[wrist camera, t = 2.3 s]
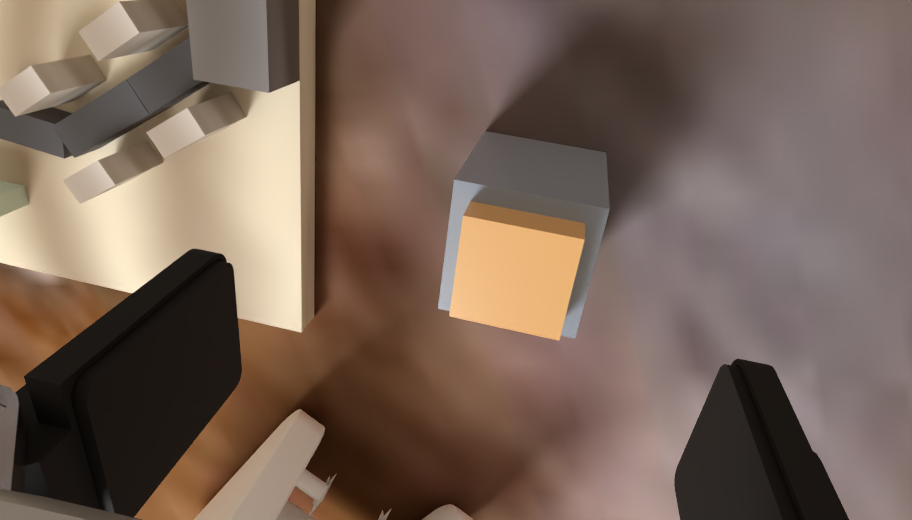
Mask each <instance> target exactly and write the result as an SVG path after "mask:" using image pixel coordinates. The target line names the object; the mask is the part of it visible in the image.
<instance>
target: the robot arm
mask: <svg viewBox="0 0 912 520" xmlns="http://www.w3.org/2000/svg"><path fill="white" fill-rule="evenodd" d="M241 373H242V366H241V353H240V341H239V328H238V316H237V303H236V291H235V278H234V269H233V266H232V264H231V263H228V262H227V260H226V258H225V256H224V255H223V254H220V253H216V252H211V251H206V250H201V249H191V250H189V251H187V252H186V253H185V254H183V255H182V256H181V257H179V258H178V259H177V260H176V261H174V262H173V263H172V264H170V265H169V266H168V267H166V268H165V269H164V270H162V271H161V272H160V273H159V274H157V275H156V276H155V277H153V278H152V279H151V280H149V281H148V282H147V283H145V284H144V285H143V286H142V287H140V288H139V289H138V290H136V291H135V292H134V293H132V294H131V295H130V296H128V297H127V298H126V299H125V300H123V301H122V302H121V303H119V304H118V305H117V306H115V307H114V308H113V309H112V310H110V311H109V312H108V313H106V314H105V315H104V316H102V317H101V318H100V319H98V320H97V321H96V322H95V323H93V324H92V325H91V326H89V327H88V328H87V329H85V330H84V331H83V332H81V333H80V334H79V335H78V336H76V337H75V338H74V339H72V340H71V341H70V342H68V343H67V344H66V345H64V346H63V347H62V348H61V349H59V350H58V351H57V352H55V353H54V354H53V355H51V356H50V357H49V358H47V359H46V360H45V361H44V362H42V363H41V364H40V365H38V366H37V367H36V368H34V369H33V370H32V371H30V372H29V373H28V374H27V375H25V376H24V378H25V381H26V385H25V386H23V387H22V388H21V389H19V390H18V391H17V392H16V393H15V392H14V391H13V390H12V389H10V388H8V387H5V386H2V385H0V520H141V519H137V518H134V516H135V515H136V514H137V513H138V511H139V510H140V509H141V507H142V506H143V505H144V504H145V502H146V501H147V500H148V499H149V497H150V496H151V495H152V494H153V492H154V491H155V490H156V488H157V487H158V486H159V485H160V483H161V482H162V481H163V480H164V478H165V477H166V476H167V474H168V473H169V472H170V471H171V469H172V468H173V467H174V466H175V464H176V463H177V462H178V461H179V459H180V458H181V457H182V455H183V454H184V453H185V452H186V450H187V449H188V448H189V447H190V445H191V444H192V443H193V441H194V440H195V439H196V438H197V436H198V435H199V434H200V433H201V431H202V430H203V429H204V428H205V426H206V425H207V424H208V422H209V421H210V420H211V419H212V417H213V416H214V415H215V414H216V412H217V411H218V410H219V409H220V407H221V406H222V405H223V403H224V402H225V401H226V400H227V398H228V397H229V396H230V395H231V393H232V392H233V391H234V389H235V388H236V387H237V385H238V383H239V381H240V377H241ZM675 492H676V498H677V503H678V509H679V515H680V520H849V519H848V517H847V514H846V512H845V510H844V508H843V506H842V504H841V502H840V500H839V498H838V495H837V493H836V491H835V489H834V487H833V485H832V483H831V481H830V479H829V476H828V474H827V472H826V470H825V468H824V466H823V464H822V462H821V460H820V458H819V457H818V455H817V454H816V453H815V452H813V451H812V449H811V447H810V444H809V442H808V440H807V438H806V436H805V434H804V431H803V429H802V427H801V425H800V423H799V421H798V419H797V416H796V414H795V412H794V410H793V408H792V406H791V404H790V401H789V399H788V397H787V395H786V393H785V391H784V389H783V386H782V384H781V382H780V380H779V378H778V376H777V373H776V371H775V370H774V368H773V367H772V366H770V365H766V364H761V363H757V362H752V361H747V360H742V359H736V360H735V361H734V362H733V363H732V364H731V365H726V364H724V365H722V366H721V368H720V369H719V371H718V374H717V376H716V378H715V381H714V383H713V385H712V388H711V390H710V392H709V394H708V397H707V399H706V401H705V404H704V406H703V408H702V411H701V413H700V415H699V418H698V420H697V422H696V425H695V427H694V429H693V431H692V434H691V436H690V438H689V441H688V443H687V445H686V448H685V450H684V452H683V455H682V457H681V459H680V461H679V464H678V466H677V469H676V473H675Z"/></svg>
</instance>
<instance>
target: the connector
mask: <svg viewBox="0 0 912 520" xmlns="http://www.w3.org/2000/svg"><path fill="white" fill-rule="evenodd" d="M609 210H610V204H609V188H608V173H607V157H606V152H601V151H596V150H590V149H584V148H579V147H573V146H567V145H562V144H556V143H551V142H545V141H539V140H534V139H528V138H522V137H517V136H511V135H506V134H500V133H494V132H489V131H485V132H484V134H483V136H482V137H481V139H480V140H479V142H478V143H477V145H476V146H475V148H474V149H473V151H472V153H471V154H470V156H469V157H468V159H467V160H466V162H465V163H464V165H463V167H462V168H461V170H460V171H459V173H458V174H457V176H456V177H455V179H454V185H453V193H452V201H451V209H450V217H449V225H448V233H447V241H446V249H445V257H444V264H443V272H442V280H441V288H440V296H439V304H438V309H442V310H447V311H450V314H449V316H450V317H455V318H459V319H464V320H468V321H473V322H477V323H482V324H486V325H491V326H495V327H500V328H504V329H509V330H514V331H518V332H523V333H527V334H532V335H536V336H541V337H545V338H550V339H554V340H560V336H565V337H570V338H574V339H575V337H576V334H577V330H578V326H579V323H580V319H581V315H582V311H583V308H584V304H585V300H586V296H587V293H588V289H589V285H590V281H591V278H592V274H593V270H594V266H595V263H596V259H597V255H598V251H599V248H600V244H601V240H602V236H603V233H604V229H605V225H606V222H607V218H608V214H609Z"/></svg>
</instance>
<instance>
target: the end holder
mask: <svg viewBox="0 0 912 520" xmlns="http://www.w3.org/2000/svg"><path fill="white" fill-rule="evenodd" d="M26 205H29V202H28V198H27V194H26V190H25V186H24V185H19V184H14V183H10V182H5V181H0V217H1V216H3V215H5V214H8V213H10V212H12V211H15V210H17V209H19V208H22V207H24V206H26Z"/></svg>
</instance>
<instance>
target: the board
mask: <svg viewBox="0 0 912 520" xmlns="http://www.w3.org/2000/svg"><path fill="white" fill-rule="evenodd" d="M315 25H316V0H0V181H5V182H10V183H14V184H19V185H24V186H25V190H26V194H27V198H28V202H29V205H26V206H24V207H22V208H19V209H17V210H15V211H12V212H10V213H8V214H5V215H3V216H1V217H0V263H4V264H8V265H13V266H17V267H21V268H26V269H30V270H34V271H39V272H43V273H47V274H52V275H56V276H60V277H64V278H69V279H73V280H77V281H82V282H86V283H90V284H95V285H99V286H103V287H108V288H112V289H116V290H120V291H125V292H129V293H134V292H135V291H136V290H138V289H139V288H140V287H142V286H143V285H144V284H145V283H147V282H148V281H149V280H151V279H152V278H153V277H155V276H156V275H157V274H159V273H160V272H161V271H162V270H164V269H165V268H166V267H168V266H169V265H170V264H172V263H173V262H174V261H176V260H177V259H178V258H179V257H181V256H182V255H183V254H185V253H186V252H187V251H189V250H191V249H201V250H206V251H211V252H216V253H220V254H223V255H224V256H225V258H226V260H227V262H228V263H231V264H232V266H233V269H234V278H235V291H236V303H237V316H238V318H241V319H245V320H250V321H254V322H258V323H263V324H267V325H271V326H276V327H280V328H284V329H288V330H293V331H297V332H301V333H302V332H303V330H304V329H305V328H306V326H307V325H308V324H309V323H310V321H311V320H312V319H313V318H314V259H315Z"/></svg>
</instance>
